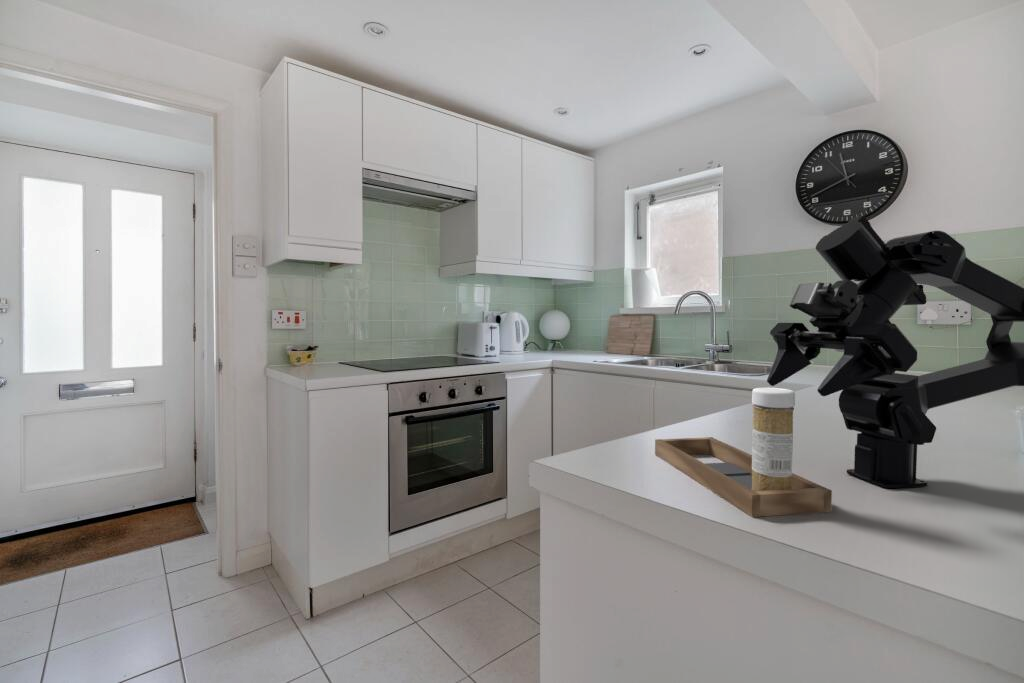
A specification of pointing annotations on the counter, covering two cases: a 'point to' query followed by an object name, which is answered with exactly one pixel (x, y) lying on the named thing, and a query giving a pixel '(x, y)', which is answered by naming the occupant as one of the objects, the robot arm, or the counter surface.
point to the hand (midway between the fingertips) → (793, 388)
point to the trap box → (753, 503)
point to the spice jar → (772, 438)
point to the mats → (733, 473)
